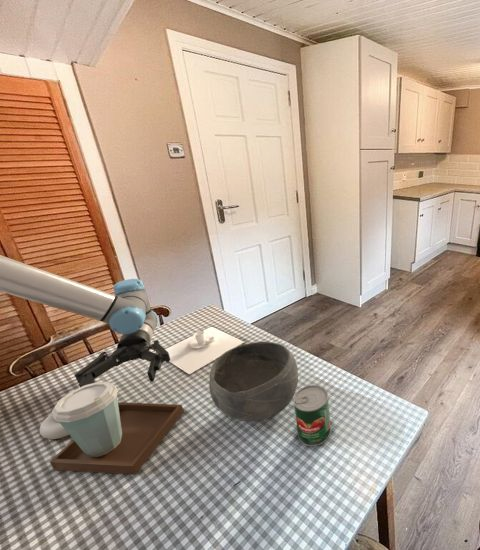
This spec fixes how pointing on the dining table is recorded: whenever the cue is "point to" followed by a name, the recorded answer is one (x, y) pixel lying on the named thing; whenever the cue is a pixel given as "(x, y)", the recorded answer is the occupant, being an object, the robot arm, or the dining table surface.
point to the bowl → (253, 381)
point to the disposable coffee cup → (91, 417)
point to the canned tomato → (312, 415)
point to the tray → (125, 440)
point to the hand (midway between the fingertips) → (117, 386)
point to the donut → (52, 428)
